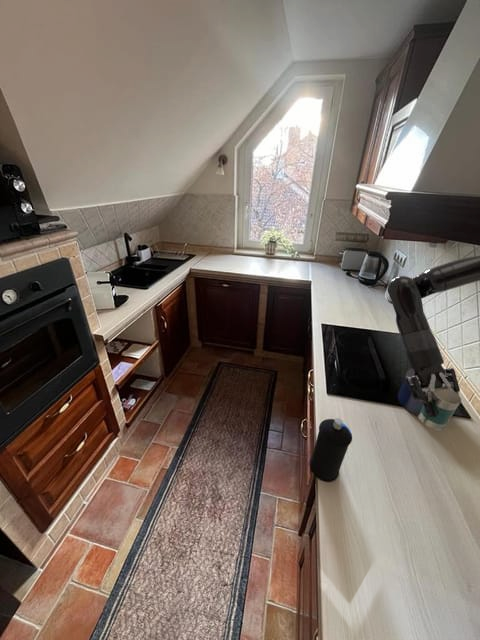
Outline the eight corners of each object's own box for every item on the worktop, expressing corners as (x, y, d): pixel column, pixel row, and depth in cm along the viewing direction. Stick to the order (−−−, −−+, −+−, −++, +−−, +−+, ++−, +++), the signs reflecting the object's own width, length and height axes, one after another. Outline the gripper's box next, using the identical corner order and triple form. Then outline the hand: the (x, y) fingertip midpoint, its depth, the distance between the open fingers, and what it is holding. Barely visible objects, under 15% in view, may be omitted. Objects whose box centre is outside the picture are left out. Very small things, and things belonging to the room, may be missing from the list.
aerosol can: (327, 488, 68) (345, 442, 58) (303, 465, 74) (315, 419, 64) (344, 469, 73) (362, 423, 63) (320, 448, 78) (333, 403, 68)
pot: (441, 394, 99) (452, 374, 94) (450, 431, 85) (465, 410, 80) (395, 381, 105) (404, 362, 100) (397, 413, 91) (407, 392, 85)
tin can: (442, 415, 68) (458, 390, 64) (447, 433, 64) (464, 407, 59) (416, 407, 71) (429, 382, 66) (419, 424, 66) (433, 398, 61)
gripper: (411, 350, 62) (436, 422, 58) (455, 342, 66) (481, 409, 62) (388, 354, 69) (408, 418, 65) (428, 347, 73) (450, 407, 69)
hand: (443, 413), depth 64 cm, fingers closed on tin can, 6 cm apart
